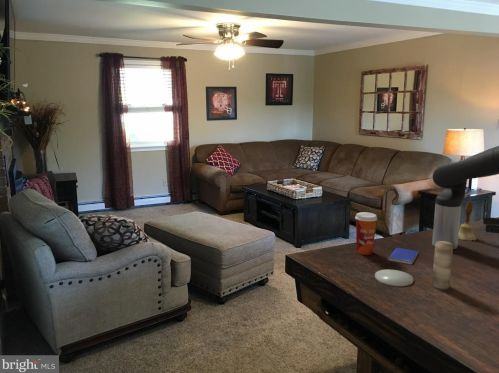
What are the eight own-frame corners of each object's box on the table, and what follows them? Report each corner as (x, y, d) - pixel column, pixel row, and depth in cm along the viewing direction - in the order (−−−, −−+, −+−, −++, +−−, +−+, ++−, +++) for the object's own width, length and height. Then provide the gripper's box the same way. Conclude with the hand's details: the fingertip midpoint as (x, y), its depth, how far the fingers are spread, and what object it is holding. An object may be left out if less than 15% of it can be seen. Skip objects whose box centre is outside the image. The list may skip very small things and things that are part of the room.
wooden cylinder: (432, 281, 135) (435, 240, 133) (449, 284, 133) (453, 242, 131) (431, 287, 131) (435, 245, 128) (449, 290, 129) (453, 247, 126)
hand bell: (469, 234, 183) (472, 198, 179) (480, 240, 175) (484, 203, 171) (450, 234, 182) (454, 199, 179) (461, 241, 174) (465, 203, 171)
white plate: (377, 268, 146) (377, 267, 146) (414, 274, 141) (414, 272, 141) (372, 282, 135) (372, 280, 135) (411, 289, 130) (412, 287, 130)
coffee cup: (360, 256, 157) (362, 218, 154) (349, 249, 165) (351, 212, 162) (380, 254, 159) (382, 216, 156) (368, 247, 167) (370, 211, 164)
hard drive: (412, 261, 150) (418, 251, 160) (388, 257, 154) (396, 247, 164) (411, 265, 150) (417, 255, 160) (388, 261, 154) (395, 251, 164)
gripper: (546, 211, 123) (483, 206, 129) (558, 224, 110) (487, 217, 117) (543, 236, 124) (481, 229, 131) (554, 251, 111) (485, 243, 118)
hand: (484, 224), depth 124 cm, fingers open, 8 cm apart
